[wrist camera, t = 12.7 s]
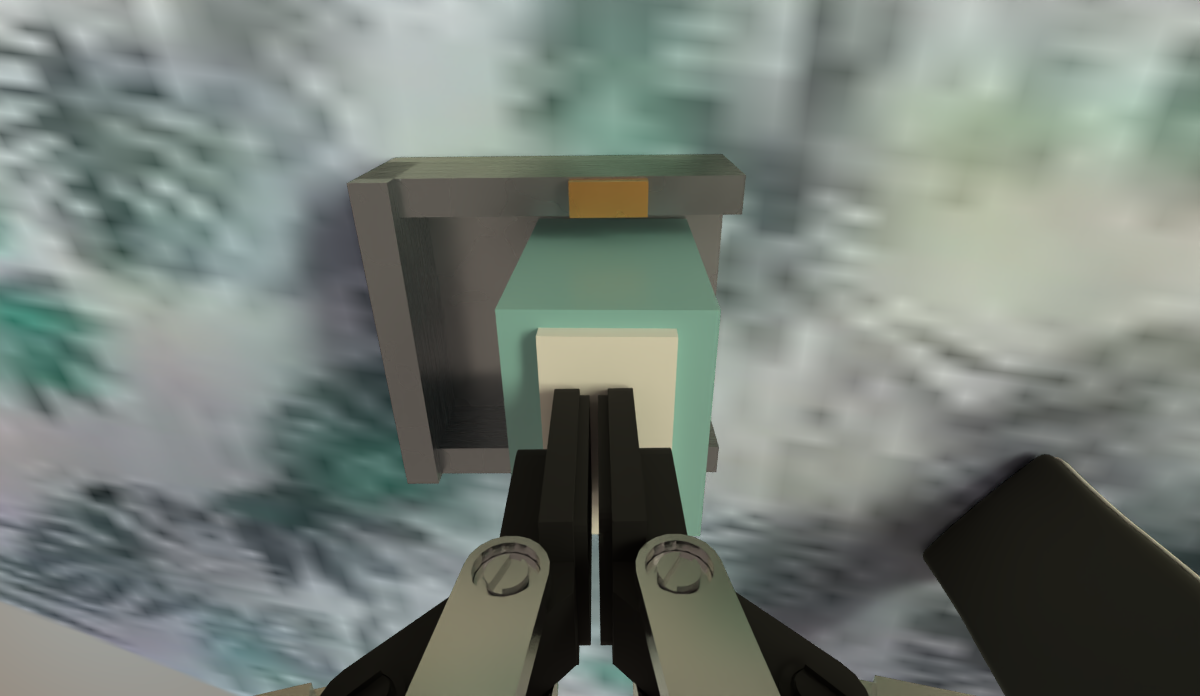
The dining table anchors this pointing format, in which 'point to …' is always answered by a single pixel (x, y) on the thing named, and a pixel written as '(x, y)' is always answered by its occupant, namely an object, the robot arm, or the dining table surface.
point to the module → (613, 338)
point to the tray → (495, 274)
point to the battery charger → (1069, 591)
